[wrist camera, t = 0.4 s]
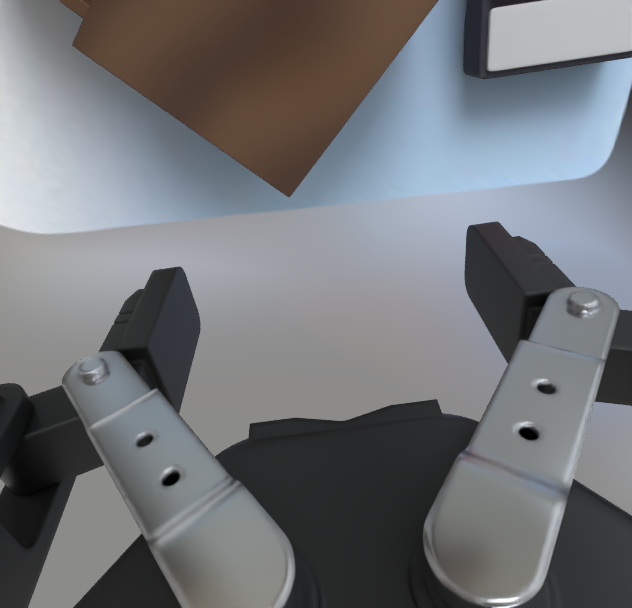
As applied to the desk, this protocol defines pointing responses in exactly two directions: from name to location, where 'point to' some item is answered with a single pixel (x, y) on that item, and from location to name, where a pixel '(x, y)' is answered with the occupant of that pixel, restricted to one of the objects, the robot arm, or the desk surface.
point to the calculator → (544, 35)
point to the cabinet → (253, 68)
